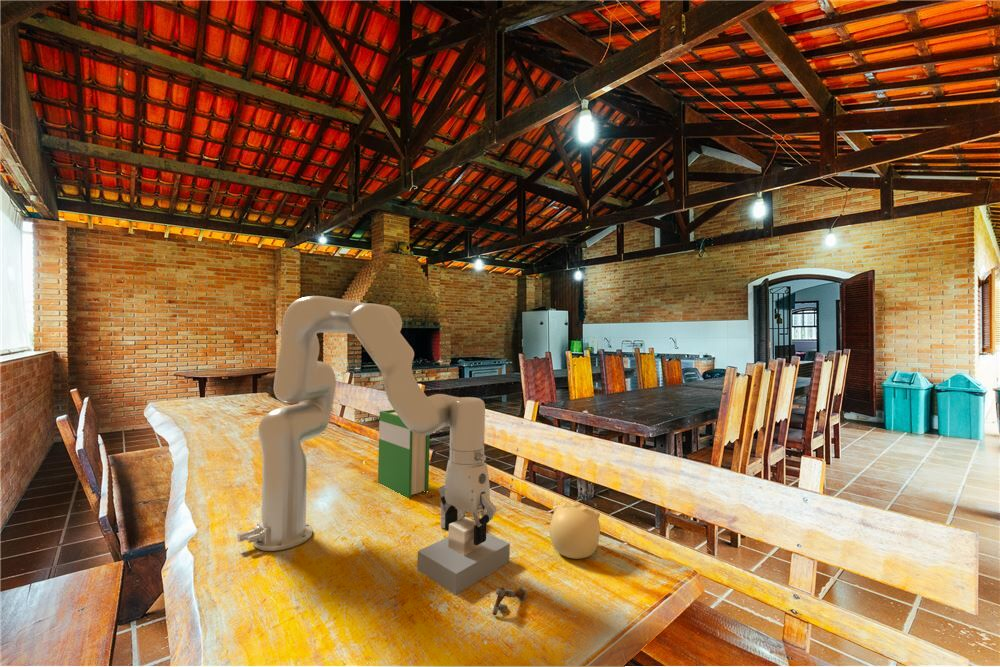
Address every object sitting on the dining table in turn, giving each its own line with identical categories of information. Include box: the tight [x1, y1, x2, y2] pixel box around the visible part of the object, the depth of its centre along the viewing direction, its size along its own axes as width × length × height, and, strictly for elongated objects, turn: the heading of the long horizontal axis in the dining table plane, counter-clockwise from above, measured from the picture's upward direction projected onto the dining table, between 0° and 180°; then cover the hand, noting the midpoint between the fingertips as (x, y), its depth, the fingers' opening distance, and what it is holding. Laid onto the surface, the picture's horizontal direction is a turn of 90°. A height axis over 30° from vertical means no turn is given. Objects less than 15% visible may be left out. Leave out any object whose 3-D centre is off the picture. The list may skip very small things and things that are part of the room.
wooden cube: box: [448, 516, 481, 556], centre depth 89 cm, size 5×5×5 cm
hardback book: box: [377, 409, 431, 499], centre depth 133 cm, size 18×7×24 cm, turn 47°
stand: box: [416, 532, 511, 595], centre depth 89 cm, size 16×12×4 cm
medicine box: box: [440, 500, 466, 529], centre depth 109 cm, size 8×4×9 cm, turn 168°
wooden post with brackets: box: [491, 586, 528, 616], centre depth 75 cm, size 2×8×4 cm, turn 136°
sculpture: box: [549, 501, 601, 560], centre depth 96 cm, size 11×12×11 cm
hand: (465, 535), depth 89 cm, fingers open, 8 cm apart
